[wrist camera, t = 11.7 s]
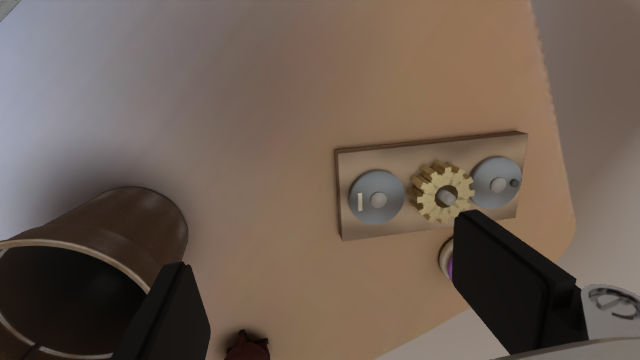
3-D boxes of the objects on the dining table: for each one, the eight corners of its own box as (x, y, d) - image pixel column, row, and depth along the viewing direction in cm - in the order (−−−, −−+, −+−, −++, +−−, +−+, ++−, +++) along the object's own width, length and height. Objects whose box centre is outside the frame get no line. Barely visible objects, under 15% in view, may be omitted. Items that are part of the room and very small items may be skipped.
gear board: (334, 149, 39) (345, 162, 33) (516, 131, 42) (554, 140, 36) (339, 234, 43) (349, 258, 37) (505, 211, 46) (537, 231, 40)
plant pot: (188, 298, 43) (142, 419, 28) (55, 272, 39) (-81, 397, 24) (220, 193, 39) (187, 269, 24) (75, 152, 35) (-74, 212, 20)
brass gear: (407, 163, 39) (418, 170, 36) (463, 157, 40) (477, 164, 37) (406, 217, 41) (416, 227, 39) (458, 210, 42) (471, 219, 39)
